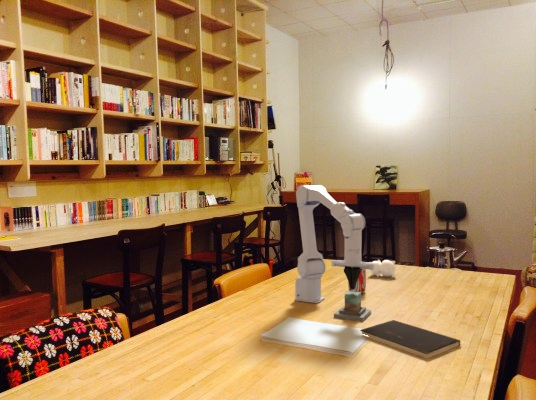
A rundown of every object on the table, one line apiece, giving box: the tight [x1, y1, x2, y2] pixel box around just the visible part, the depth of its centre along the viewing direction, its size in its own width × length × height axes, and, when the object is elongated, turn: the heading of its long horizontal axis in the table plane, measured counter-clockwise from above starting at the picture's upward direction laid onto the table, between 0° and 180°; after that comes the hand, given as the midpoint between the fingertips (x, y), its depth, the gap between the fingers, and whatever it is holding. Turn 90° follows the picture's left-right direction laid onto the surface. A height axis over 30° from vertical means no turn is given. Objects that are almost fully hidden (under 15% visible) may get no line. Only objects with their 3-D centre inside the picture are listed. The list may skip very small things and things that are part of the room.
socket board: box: [333, 305, 372, 322], centre depth 163 cm, size 10×10×2 cm
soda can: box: [347, 269, 367, 294], centre depth 195 cm, size 7×7×12 cm
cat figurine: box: [368, 259, 396, 278], centre depth 225 cm, size 9×11×12 cm
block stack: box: [344, 290, 362, 312], centre depth 163 cm, size 4×4×6 cm
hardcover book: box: [360, 319, 461, 359], centre depth 139 cm, size 16×23×2 cm
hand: (352, 288), depth 163 cm, fingers closed
